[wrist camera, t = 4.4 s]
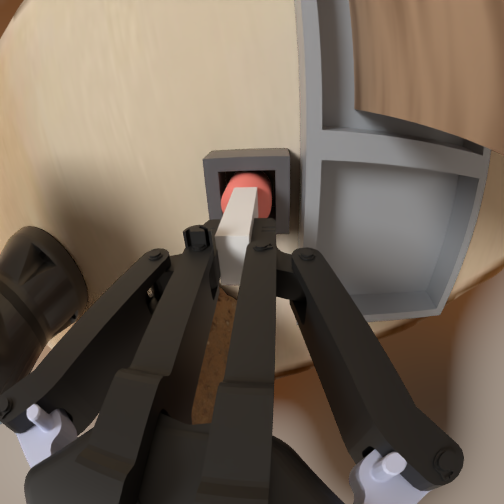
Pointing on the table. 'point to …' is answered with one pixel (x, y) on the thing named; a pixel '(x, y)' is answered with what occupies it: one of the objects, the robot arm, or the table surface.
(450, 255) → the gray divided tray
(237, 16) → the table surface
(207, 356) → the block
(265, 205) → the button
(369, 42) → the seated billet
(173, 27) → the table surface
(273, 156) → the button housing
